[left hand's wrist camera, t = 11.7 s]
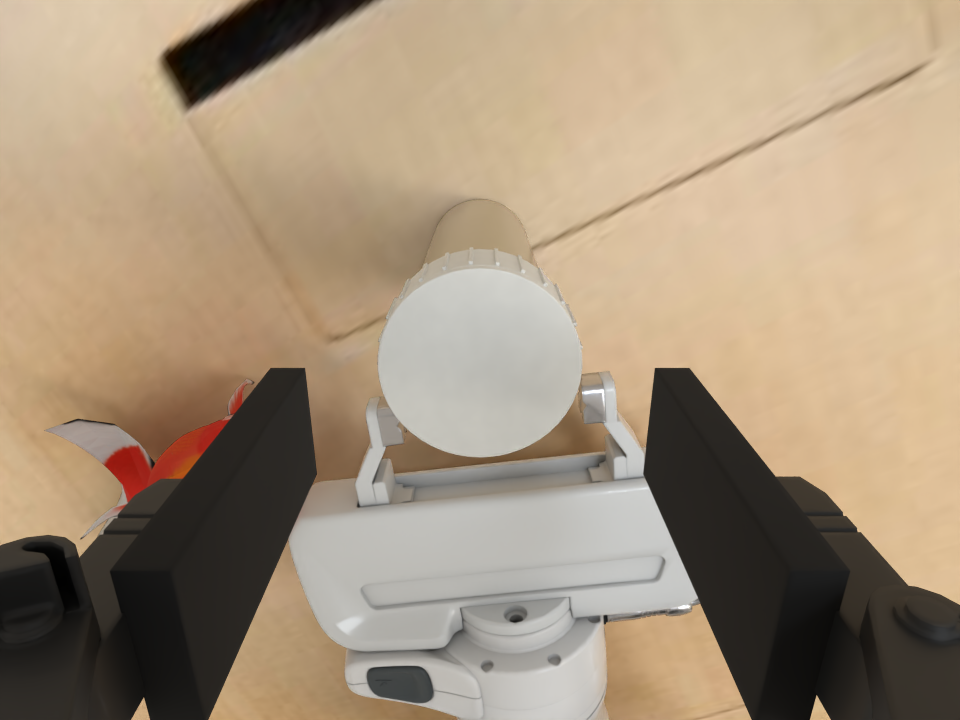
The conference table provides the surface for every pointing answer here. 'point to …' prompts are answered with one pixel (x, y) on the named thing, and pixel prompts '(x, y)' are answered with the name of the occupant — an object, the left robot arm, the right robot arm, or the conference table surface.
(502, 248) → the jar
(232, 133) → the conference table surface
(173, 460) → the fish
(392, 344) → the lid
